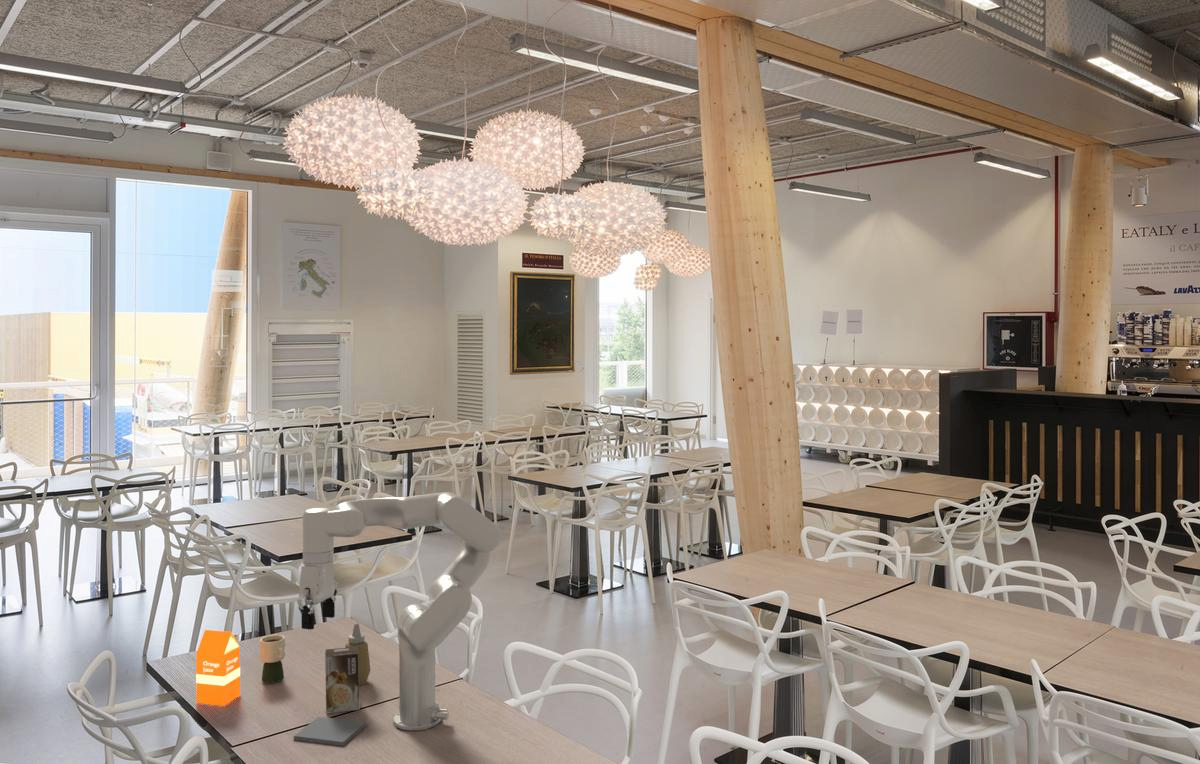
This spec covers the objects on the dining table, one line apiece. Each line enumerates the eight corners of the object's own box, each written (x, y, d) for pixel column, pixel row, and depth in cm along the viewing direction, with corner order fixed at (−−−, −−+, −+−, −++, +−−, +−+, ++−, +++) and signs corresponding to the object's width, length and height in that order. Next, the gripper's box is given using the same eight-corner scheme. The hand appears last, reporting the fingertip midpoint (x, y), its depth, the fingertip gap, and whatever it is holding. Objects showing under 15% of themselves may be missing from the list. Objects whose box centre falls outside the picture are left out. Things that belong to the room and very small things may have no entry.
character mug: (293, 681, 262) (293, 639, 262) (272, 689, 257) (271, 645, 256) (273, 673, 269) (273, 631, 269) (252, 680, 264) (251, 637, 263)
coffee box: (359, 701, 249) (359, 645, 248) (359, 710, 243) (359, 653, 242) (325, 704, 246) (325, 648, 246) (325, 714, 240) (324, 656, 240)
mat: (366, 725, 233) (366, 722, 233) (343, 745, 221) (343, 742, 221) (319, 720, 236) (318, 716, 236) (293, 739, 225) (293, 735, 225)
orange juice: (224, 706, 244) (223, 636, 243) (196, 703, 246) (195, 634, 245) (240, 695, 252) (240, 627, 251) (213, 693, 254) (213, 625, 253)
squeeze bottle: (353, 690, 257) (353, 630, 256) (337, 683, 261) (336, 624, 261) (376, 682, 263) (375, 623, 262) (359, 675, 268) (359, 617, 267)
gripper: (323, 548, 232) (323, 611, 233) (285, 564, 216) (285, 632, 216) (348, 550, 231) (348, 614, 232) (312, 566, 214) (312, 635, 215)
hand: (318, 622), depth 224 cm, fingers open, 9 cm apart
